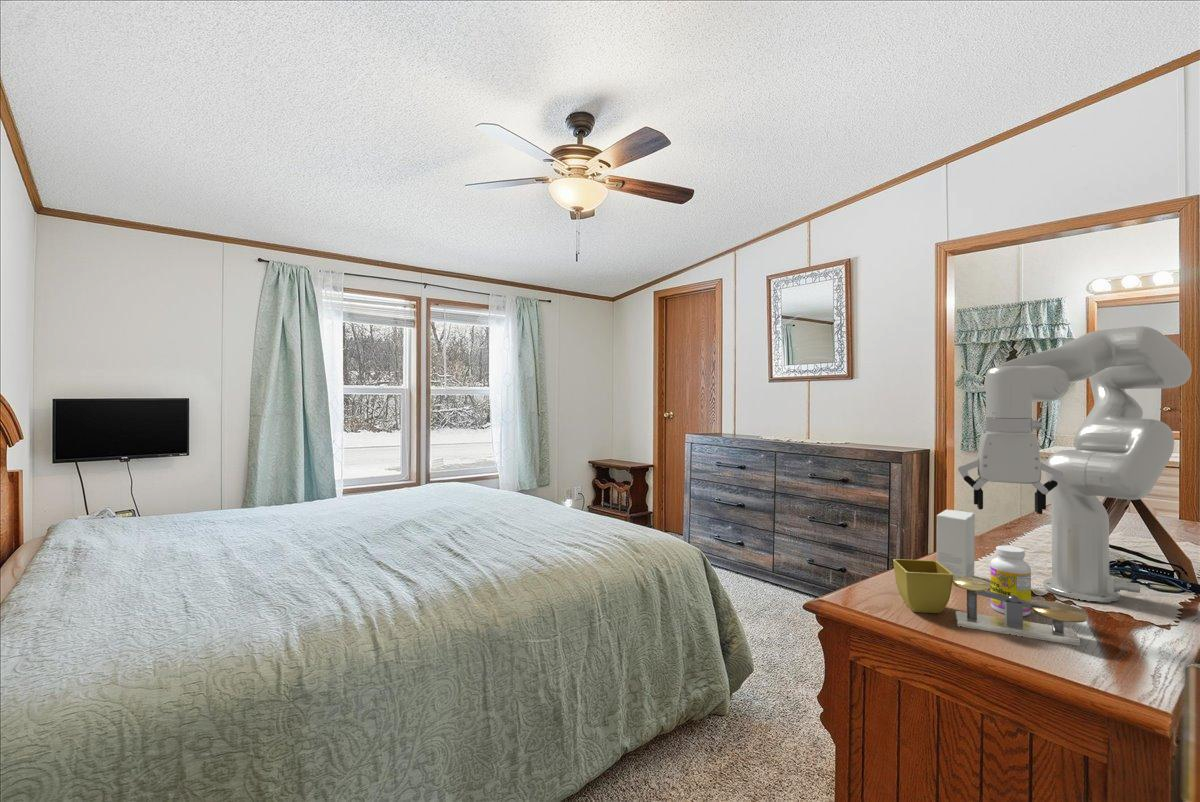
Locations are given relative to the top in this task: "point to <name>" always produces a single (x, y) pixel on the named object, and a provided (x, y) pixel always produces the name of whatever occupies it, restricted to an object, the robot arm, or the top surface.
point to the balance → (1018, 615)
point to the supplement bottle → (1010, 576)
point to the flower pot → (923, 584)
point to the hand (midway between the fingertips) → (1008, 510)
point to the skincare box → (956, 542)
